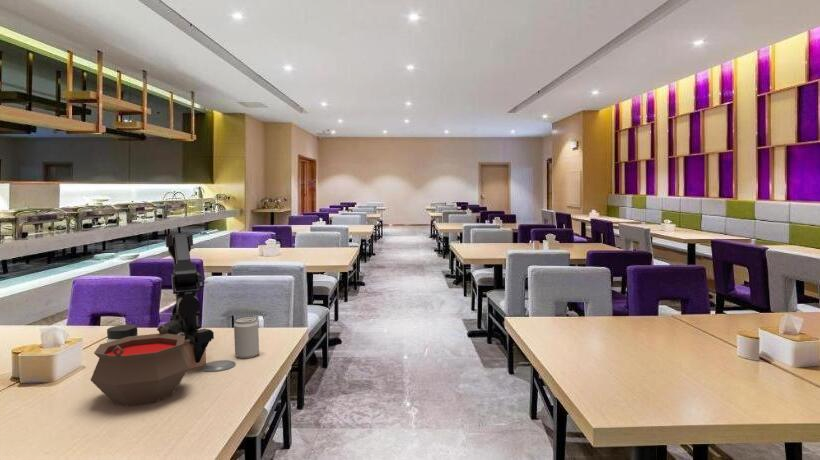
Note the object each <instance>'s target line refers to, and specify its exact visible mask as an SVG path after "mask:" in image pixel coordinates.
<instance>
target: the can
mask: <svg viewBox="0 0 820 460" xmlns="http://www.w3.org/2000/svg"><path fill="white" fill-rule="evenodd" d="M233 333H234V334H233V336H234V337H233V339H234V355H235V356H236V357H237V358H239V359H252V358H255V357H257V356H258V354H259V353H260V339H259V338H260V337H259V322H258V321H257V318H255V317H251V316H250V317H242V318H241V317H240V318H238V319H236V320H235V323H234V325H233Z"/></svg>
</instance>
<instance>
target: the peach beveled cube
mask: <svg viewBox="0 0 820 460" xmlns="http://www.w3.org/2000/svg"><path fill="white" fill-rule="evenodd" d="M189 342H190V340H189V339H187V340H184V344H183V347H184V349H185V350H186V352H187V354H188V356H189V358H190V363H189V369H193V368H197V367H201V366H202V365H203V364H205V363H207V350H206V349H207V348H206V349H205V351H204V353H203V356H202V358H201V360H200V362H198V363H196V361H195V356H194V350H193V346H192V345H191V344H189ZM189 369H188V370H189Z"/></svg>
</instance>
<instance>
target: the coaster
mask: <svg viewBox="0 0 820 460" xmlns="http://www.w3.org/2000/svg"><path fill="white" fill-rule="evenodd" d="M235 366H236V362H235V361H233V360H230V359H229V360H228V359H221V360H213V361H210V362H209V361H208V362H206V363H205V364H203V365H201V366H199V368H200V371H201V372H202V371H203V372H206V373H207V372H208V373H216V372H217V373H218V372H223V371H228V370H230V369H233V368H234V367H235Z"/></svg>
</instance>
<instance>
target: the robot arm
mask: <svg viewBox="0 0 820 460" xmlns="http://www.w3.org/2000/svg"><path fill="white" fill-rule="evenodd" d="M193 246H194V237H193V234H189V233H188V232H186V233H185V232H180V233H178V232H177V233H168V235H166V236H165V248H167V252H168V254H169V256H170V257H171V258H172V260H173V273H171V286H172V295H175V302H174V303H175V304H174V306H173V307H172V308H171V315H169V321H167V322H164V324H162V325H163V326H165V327H166V328H167V330H166V332H165V333H166V334H174V335H182V336H185V339H184V340H187V339H189V340H190V342H189V344H191V345H192V346H193V350H194V356H195V361H196V363H198V362H200V360H201V358H202V356H203V353H204V351H205V349H207V347H208V345H209V344H210V342H212V340H214V339H215V334H214V333H215V332H214V331H213V330H212V329H209V328H204V327H203V328H202V326H201V325H200V316H201V312H200V311H199V310H200V307H201V304H200V301H199V299H198V297H197V293H200V292H202V290H201V289H203V282H202V281H203V280H202V275H201V274H200V272H199V271H197V266H196V264H195V263H193V262H192V261H191V254H190V253H191V250H192V247H193ZM160 330H161V331H163V330H164V329H163V328H161V329H160ZM158 334H160V332H159V331H158Z"/></svg>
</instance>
